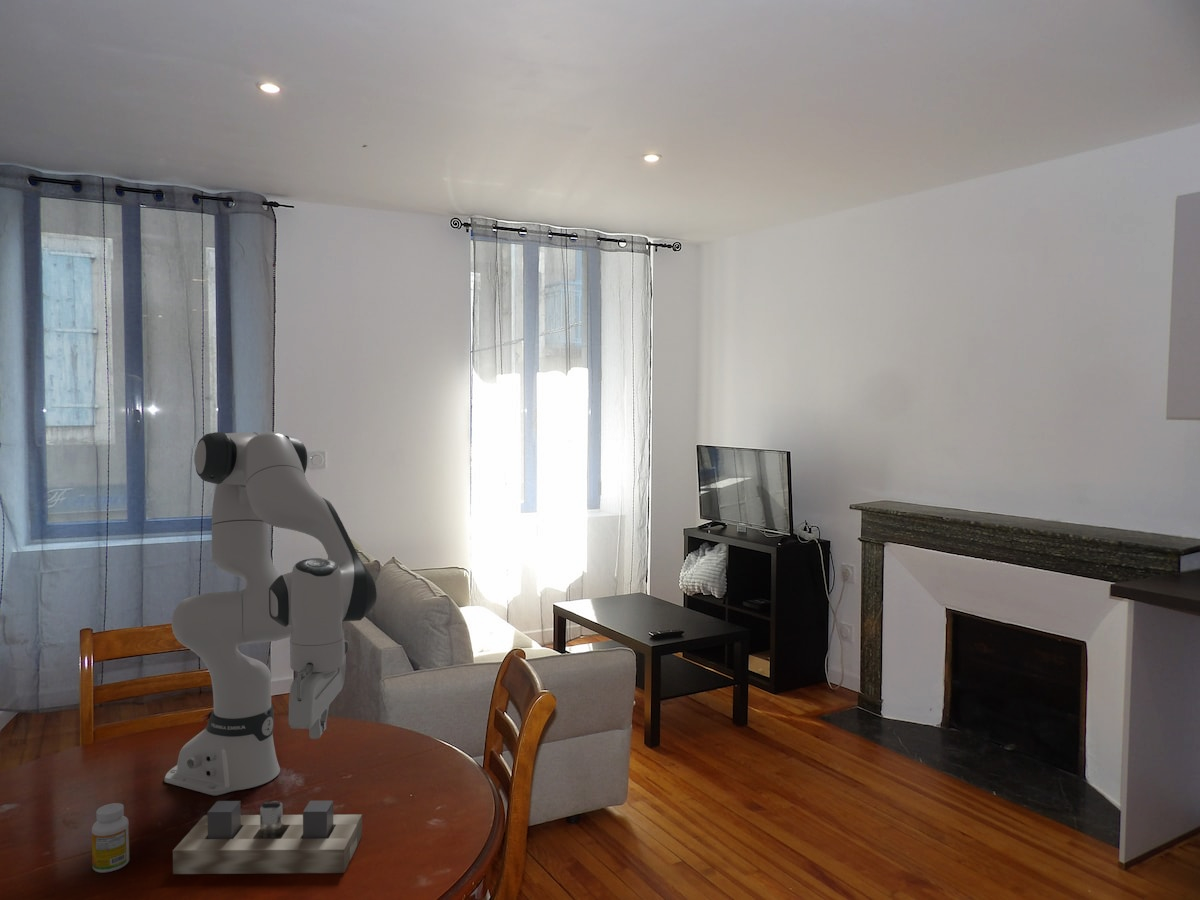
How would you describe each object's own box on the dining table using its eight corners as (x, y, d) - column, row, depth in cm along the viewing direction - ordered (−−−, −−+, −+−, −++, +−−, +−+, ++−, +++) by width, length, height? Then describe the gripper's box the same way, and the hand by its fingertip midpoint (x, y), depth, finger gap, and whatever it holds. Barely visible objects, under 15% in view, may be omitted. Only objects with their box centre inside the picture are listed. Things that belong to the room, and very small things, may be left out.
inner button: (207, 840, 143) (207, 812, 143) (217, 828, 147) (217, 801, 147) (231, 840, 143) (231, 812, 143) (240, 828, 147) (240, 800, 147)
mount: (173, 874, 139) (172, 850, 139) (204, 836, 151) (204, 815, 151) (344, 872, 140) (344, 849, 140) (362, 836, 152) (362, 814, 152)
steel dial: (257, 839, 144) (256, 807, 143) (264, 829, 147) (264, 798, 147) (278, 839, 144) (278, 807, 144) (285, 829, 147) (285, 797, 147)
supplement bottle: (102, 856, 144) (101, 801, 144) (135, 855, 145) (134, 800, 144) (86, 874, 139) (84, 816, 138) (120, 873, 139) (119, 815, 139)
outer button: (303, 840, 144) (302, 811, 144) (310, 828, 148) (310, 800, 148) (326, 840, 144) (326, 811, 144) (333, 828, 148) (333, 800, 148)
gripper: (318, 674, 134) (318, 759, 135) (351, 638, 154) (351, 713, 155) (277, 674, 134) (278, 760, 134) (316, 638, 154) (316, 713, 155)
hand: (317, 734), depth 145 cm, fingers closed
